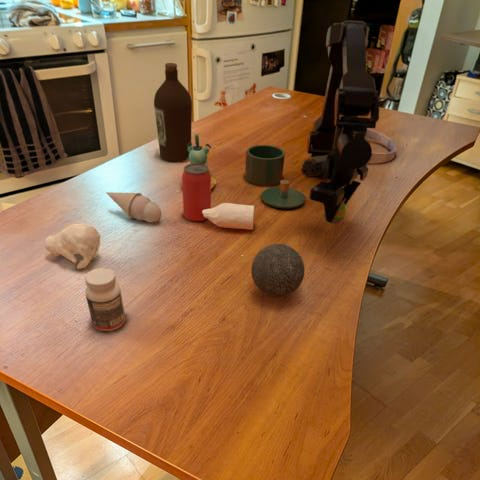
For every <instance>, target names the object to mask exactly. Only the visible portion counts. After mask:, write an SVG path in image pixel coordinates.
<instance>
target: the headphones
mask: <svg viewBox="0 0 480 480" xmlns="http://www.w3.org/2000/svg"><path fill="white" fill-rule="evenodd" d="M366 137H367V139H368V140H369V139H370V140H372V141H375V142H376V143H379V144H381V145H383V146H384V147H385V148H386V149H388V150H389V151H388V152H372V156H371V158H370V160H369V162H370V163H386V162H390V161H392V160H393V159H394V158H395V156H396V153H397V150H398V145H397V143H396V141H394V140H393V139H392V138H390V137H388V136H386V135H385V134H383V133H381V132H380V131H377V130H374V129H372V128H367V132H366ZM369 162H368V163H369Z"/></svg>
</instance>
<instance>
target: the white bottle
mask: <svg viewBox="0 0 480 480" xmlns="http://www.w3.org/2000/svg"><path fill="white" fill-rule="evenodd" d="M202 213H203V216H204V217H205V218H207V219H206V220H209V221H210V222H211V223H212V224H213V225H215V226H217V227H218V228H226V229H238V230H249V231H252V230H253V229H254V221H255V205H250V204H249V205H248V204H240V203H231V202H222V203H220V204H218V205H216V206H214V207H211V208H210V209H205V210H203V211H202Z"/></svg>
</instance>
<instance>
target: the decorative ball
mask: <svg viewBox="0 0 480 480" xmlns="http://www.w3.org/2000/svg"><path fill="white" fill-rule="evenodd" d="M250 270H251V271H250V272H251V279H252V281H253V284H254V285H255V286H256V288H257V289H258V291H260V292H261V293H263V294H264V295H266V296H268V297H271V298H272V297H273V298H282V297H287V296H289V295H291V294H293V293H294V292H296V291H297V290H298V289H299V287H300V286H301V285H302V283H303V280H304V277H305V264H304V261H303V258H302V256H301V255H300V253H299V252H298V251H297V250H295V249H294V248H293V247H291V246H289V245H287V244H284V243H273V244H270V245H267V246H265V247H263V248H261V250H259V251H258V252H257V253H256V255H255V256H254V258H253V261H252V264H251V268H250Z"/></svg>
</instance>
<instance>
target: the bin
mask: <svg viewBox="0 0 480 480" xmlns="http://www.w3.org/2000/svg"><path fill="white" fill-rule="evenodd" d="M285 156H286V151H284V149H282V148H280V147H279V146H275V145H271V144H256V145H252V146H250V147H248V148H247V149H246V153H245V169H244V173H245V174H244V176H245V180H246V181H247V182H248V183H249V184H252V185H255V186H259V187H272V186H276V185H280V181H281V180H283V177H284V167H285V158H286V157H285Z"/></svg>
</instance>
